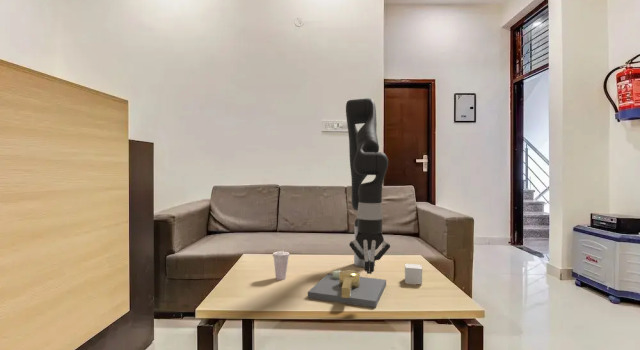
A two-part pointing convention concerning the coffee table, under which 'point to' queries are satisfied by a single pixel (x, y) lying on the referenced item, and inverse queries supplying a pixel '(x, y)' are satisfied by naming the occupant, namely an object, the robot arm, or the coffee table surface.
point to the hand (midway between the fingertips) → (369, 272)
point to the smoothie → (281, 263)
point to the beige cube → (413, 274)
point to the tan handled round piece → (348, 281)
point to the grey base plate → (361, 295)
